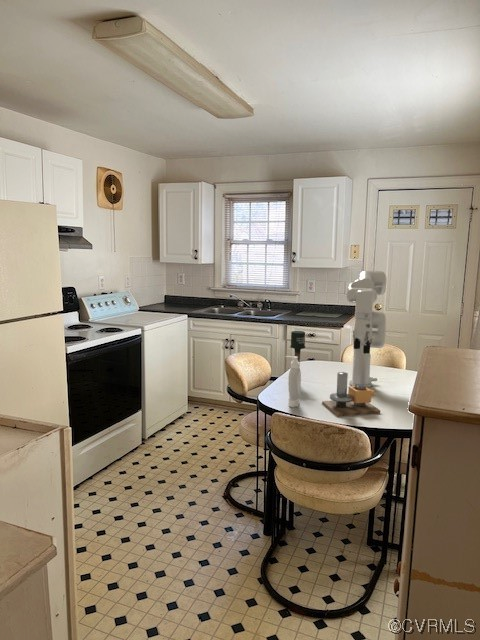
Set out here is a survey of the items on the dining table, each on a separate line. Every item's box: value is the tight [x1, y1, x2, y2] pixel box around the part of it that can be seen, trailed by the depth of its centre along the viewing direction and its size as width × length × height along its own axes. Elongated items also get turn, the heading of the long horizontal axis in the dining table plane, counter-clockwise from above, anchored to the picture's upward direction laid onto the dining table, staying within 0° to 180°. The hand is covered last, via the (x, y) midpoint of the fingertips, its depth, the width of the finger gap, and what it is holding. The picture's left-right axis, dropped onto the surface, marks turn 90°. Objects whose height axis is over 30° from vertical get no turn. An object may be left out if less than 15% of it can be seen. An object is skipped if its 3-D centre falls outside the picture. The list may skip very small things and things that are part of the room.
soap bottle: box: [285, 355, 302, 408], centre depth 234 cm, size 13×8×24 cm, turn 159°
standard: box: [329, 371, 353, 408], centre depth 228 cm, size 11×11×16 cm
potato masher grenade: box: [289, 330, 306, 364], centre depth 270 cm, size 8×9×30 cm
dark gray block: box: [354, 384, 366, 407], centre depth 230 cm, size 4×4×10 cm
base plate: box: [321, 400, 381, 418], centre depth 231 cm, size 22×18×2 cm
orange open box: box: [347, 385, 376, 403], centre depth 231 cm, size 12×8×6 cm
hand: (361, 350), depth 228 cm, fingers open, 9 cm apart
